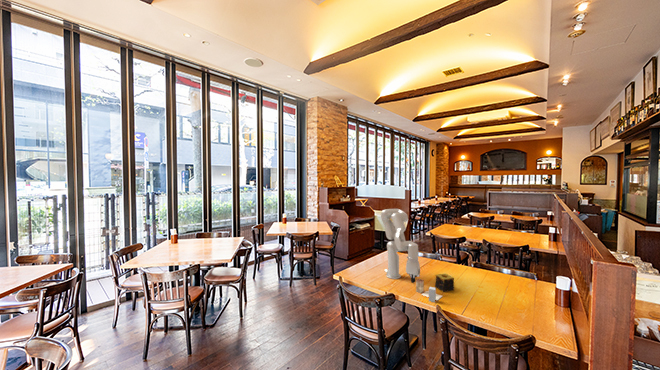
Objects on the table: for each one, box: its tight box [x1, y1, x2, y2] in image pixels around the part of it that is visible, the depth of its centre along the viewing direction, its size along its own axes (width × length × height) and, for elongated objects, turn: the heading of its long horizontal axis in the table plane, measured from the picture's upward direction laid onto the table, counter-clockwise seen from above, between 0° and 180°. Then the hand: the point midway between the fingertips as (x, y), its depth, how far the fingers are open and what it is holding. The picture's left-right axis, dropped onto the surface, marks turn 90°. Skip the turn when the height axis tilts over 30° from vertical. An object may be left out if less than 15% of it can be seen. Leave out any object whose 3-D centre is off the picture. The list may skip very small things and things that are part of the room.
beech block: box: [415, 278, 425, 294], centre depth 199 cm, size 4×4×9 cm
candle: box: [434, 273, 455, 293], centre depth 204 cm, size 10×10×10 cm
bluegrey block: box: [428, 286, 437, 303], centre depth 185 cm, size 4×4×9 cm
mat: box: [420, 290, 443, 301], centre depth 192 cm, size 12×9×1 cm
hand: (413, 282), depth 203 cm, fingers closed
